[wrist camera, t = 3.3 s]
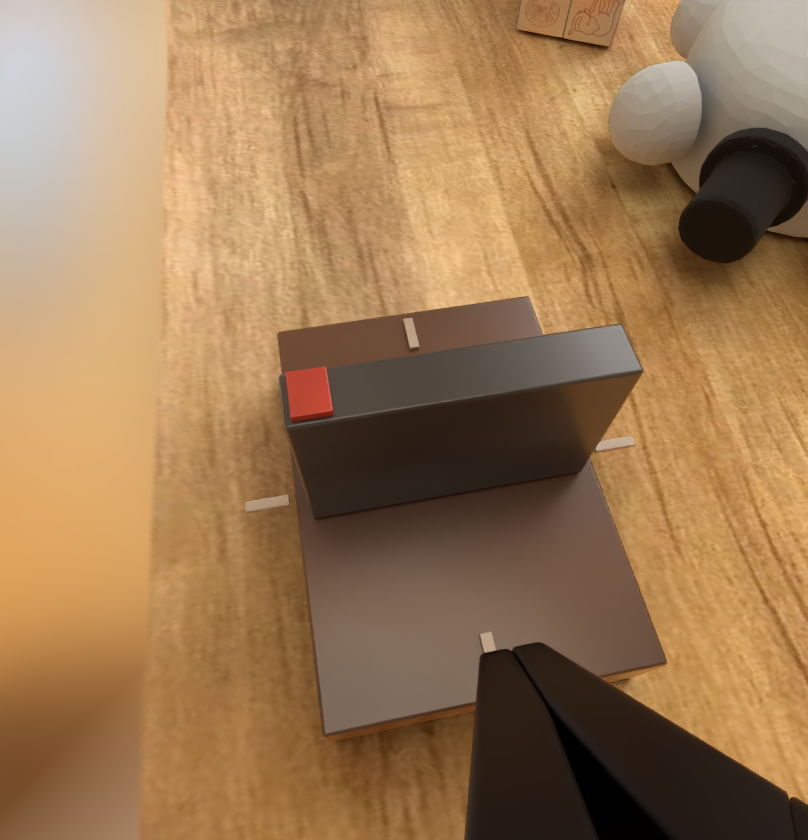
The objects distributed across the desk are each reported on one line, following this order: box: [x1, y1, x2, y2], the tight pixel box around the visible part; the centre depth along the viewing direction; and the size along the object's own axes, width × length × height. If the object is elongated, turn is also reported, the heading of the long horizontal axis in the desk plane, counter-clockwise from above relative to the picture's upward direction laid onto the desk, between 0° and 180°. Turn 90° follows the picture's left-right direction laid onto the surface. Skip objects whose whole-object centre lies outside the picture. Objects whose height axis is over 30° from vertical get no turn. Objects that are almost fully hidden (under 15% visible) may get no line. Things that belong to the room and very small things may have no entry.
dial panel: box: [245, 296, 667, 741], centre depth 22 cm, size 14×13×3 cm
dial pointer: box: [279, 324, 643, 518], centre depth 18 cm, size 9×2×6 cm, turn 101°
